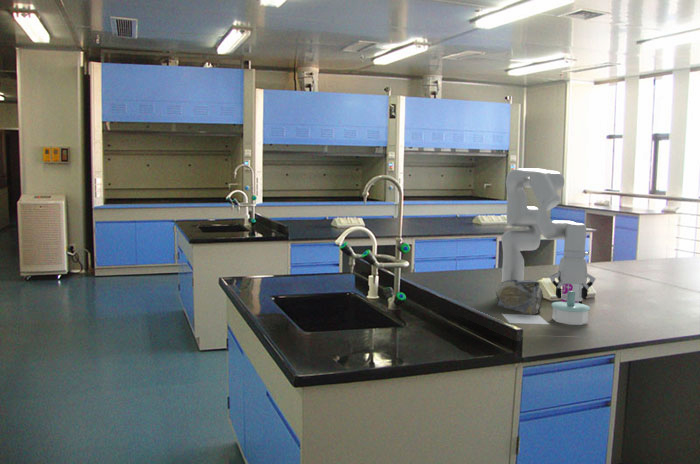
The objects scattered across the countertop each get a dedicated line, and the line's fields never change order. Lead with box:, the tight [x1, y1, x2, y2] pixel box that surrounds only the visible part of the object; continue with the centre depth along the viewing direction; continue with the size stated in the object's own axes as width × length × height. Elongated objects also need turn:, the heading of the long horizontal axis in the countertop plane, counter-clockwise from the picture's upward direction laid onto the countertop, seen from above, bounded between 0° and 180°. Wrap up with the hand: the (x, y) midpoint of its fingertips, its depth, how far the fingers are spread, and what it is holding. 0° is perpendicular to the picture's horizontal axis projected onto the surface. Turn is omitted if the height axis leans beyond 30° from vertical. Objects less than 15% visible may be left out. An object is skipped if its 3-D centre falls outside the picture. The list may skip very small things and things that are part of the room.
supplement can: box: [560, 284, 584, 304], centre depth 242 cm, size 8×8×15 cm
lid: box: [551, 291, 591, 312], centre depth 226 cm, size 14×14×6 cm
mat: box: [501, 313, 550, 325], centre depth 228 cm, size 14×15×1 cm
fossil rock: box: [494, 279, 544, 315], centre depth 245 cm, size 20×10×15 cm, turn 32°
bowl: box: [551, 307, 589, 326], centre depth 227 cm, size 12×12×6 cm
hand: (571, 298), depth 226 cm, fingers open, 9 cm apart
